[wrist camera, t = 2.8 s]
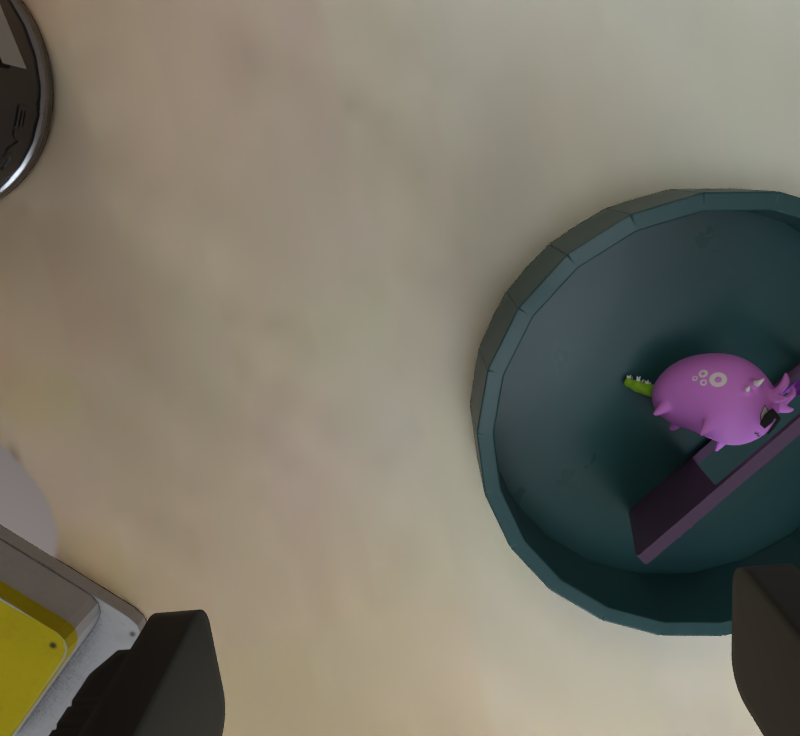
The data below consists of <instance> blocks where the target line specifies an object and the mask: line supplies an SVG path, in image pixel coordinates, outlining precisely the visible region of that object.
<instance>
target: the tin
mask: <svg viewBox="0 0 800 736" xmlns="http://www.w3.org/2000/svg"><path fill="white" fill-rule="evenodd" d="M706 353H724V354H731V355H735V356H739V357H741V358H744V359H746V360H748V361H750V362H751V363H753V364H754V365H755V366H757V367H758V368H759V369H760V370H761V371H762V372H763V373H764V374H765V375H766V376H767V378H768V379H769V380H770V382H771V383H772V385H773V384H774V383H775V382H776V381H777V380H778V379H779V378H781V377H782V376H783V375H784V373H786V372H787V371H789V370H790V369H791V368H792V367H793V366H794V365H795V364H797V363H798V362H799V361H800V198H799V197H796V196H792V195H789V194H785V193H782V192H776V191H764V190H746V189H670V190H665V191H661V192H658V193H655V194H651V195H648V196H644V197H641V198H637V199H634V200H630V201H626V202H623V203H621V204H618V205H615V206H612V207H608V208H606V209H604V210H602V211H600V212H599V213H597V214H595V215H594V216H592V217H590V218H589V219H587V220H585V221H583V222H582V223H580V224H578V225H577V226H575V227H573V228H571V229H570V230H569V231H567V232H566V233H565V234H563V235H562V236H561V237H559V238H558V239H556V240H555V241H553V242H551V243H550V245H548V246H547V247H546V248H545V249H544V250H543V251H542V252H541V253H540V254H539V255H538V256H537V257H536V258H535V259H534V260H533V261H532V262H531V263H530V264H529V265H528V266H527V267H526V268H525V270H524V271H523V272H522V274H521V275H520V276H519V277H518V279H517V280H516V281H515V282H514V284H513V285H512V286H511V287H510V288H509V289H508V290H507V292H506V293H505V295H504V297H503V299H502V301H501V303H500V305H499V307H498V308H497V310H496V312H495V313H494V315H493V318H492V320H491V322H490V325H489V327H488V329H487V331H486V334H485V336H484V338H483V340H482V342H481V344H480V348H479V352H478V358H477V362H476V367H475V374H474V381H473V387H472V394H471V400H470V408H471V416H472V423H473V430H474V438H475V445H476V452H477V459H478V464H479V468H480V473H481V478H482V483H483V488H484V492H485V496H486V498H487V500H488V502H489V504H490V506H491V508H492V510H493V513H494V515H495V517H496V519H497V521H498V523H499V525H500V527H501V529H502V531H503V533H504V536H505V538H506V540H507V542H508V544H509V546H510V547H511V549H512V550H513V551H514V552H515V553H516V554H517V555H518V556H519V557H520V558H521V559H522V560H523V561H524V562H525V564H526V565H527V566H528V567H529V568H530V569H531V570H532V571H533V572H534V573H535V574H536V575H537V576H538V577H539V579H540V580H541V581H542V582H543V583H544V584H545V585H546V586H547V587H548V588H549V589H551V591H553V592H555V593H556V594H558V595H560V596H562V597H563V598H565V599H567V600H568V601H570V602H572V603H573V604H575V605H577V606H579V607H580V608H582V609H584V610H585V611H587V612H589V613H591V614H592V615H594V616H596V617H597V618H599V619H602V620H603V621H607V622H611V623H614V624H618V625H622V626H626V627H630V628H633V629H637V630H641V631H645V632H649V633H652V634H656V635H669V636H722V635H729V634H732V583H733V575H734V572H735V570H736V569H737V568H739V567H749V566H761V565H774V564H786V563H790V564H793V565H795V566H796V567H797V568H798V569H799V570H800V437H798V438H795V439H794V440H793V441H792V442H790V443H789V444H788V445H787V446H786V447H784V449H783V451H782V452H781V453H780V454H779V455H778V456H776V457H775V458H774V459H773V460H772V461H771V462H769V463H768V464H767V465H766V466H765V467H764V468H762V469H759V470H757V471H756V472H755V473H754V474H753V475H752V476H750V477H749V478H748V479H747V480H746V481H744V482H743V483H742V484H741V485H740V486H739V487H737V488H736V489H735V490H734V491H733V492H732V493H730V494H729V495H728V496H727V497H726V498H725V499H723V500H722V501H721V502H720V503H719V504H717V505H716V506H715V507H714V508H713V509H712V510H710V511H709V512H708V513H707V514H706V515H705V516H703V517H702V518H701V519H700V520H699V521H697V522H696V523H695V524H694V525H693V526H692V527H691V528H689V529H688V530H687V531H686V532H685V533H683V534H682V535H681V537H679V538H677V539H676V540H675V541H674V542H673V543H672V544H670V545H669V546H668V547H667V548H666V549H665V550H663V551H662V552H661V553H660V554H659V555H658V556H656V557H655V558H654V559H653V560H652V561H650V562H649V563H648V564H644V563H643V562H642V561H641V560H640V559H639V557H638V556H637V555H636V551H635V546H634V540H633V534H632V529H631V523H630V518H629V511H630V509H631V508H633V507H634V506H635V505H636V504H637V503H638V502H639V501H640V500H642V499H643V498H644V497H645V496H646V495H647V494H648V493H650V492H651V491H652V490H653V489H654V488H655V487H656V486H658V485H659V484H660V483H661V482H662V481H663V480H664V479H666V478H667V477H668V476H669V475H670V474H671V473H672V472H674V471H675V470H676V469H677V468H678V467H679V466H680V465H681V464H683V463H684V462H685V461H686V460H687V459H688V458H689V457H691V456H692V455H693V454H694V453H695V452H696V451H697V450H699V449H700V448H701V447H702V446H703V445H704V444H705V443H707V442H708V441H709V440H710V438H708V437H705V436H701V435H700V434H698V433H695V432H693V431H690V430H687V429H685V428H682V427H680V428H678V429H676V430H673V431H671V430H670V429H669V427H670V425H671V423H670V422H669V421H667V420H665V419H664V418H663V417H661V416H660V415H658V416H655V415H654V414H653V412H654V411H655V408H654V406H653V403H652V397H649V396H645V395H643V394H641V393H638V392H635V391H633V390H631V389H630V388H628V387H626V386H625V385H624V381H625V379H626V378H627V375H628V376H630V375H631V378H632V376H633V380H636V379H637V377H638V378H639V377H640V376H641V378H640V381H642V380H643V379H644V380H645V381H647V380H649V383H650V382H651V384H655V382H656V381H657V379H658V378H659V376H660V375H661V374H662V373H663V372H664V371H665V370H666V369H667V368H668V367H669V366H671V365H672V364H674V363H676V362H677V361H679V360H682V359H684V358H687V357H690V356H694V355H699V354H706ZM797 379H800V376H799V377H798V378H797ZM797 379H796V380H797ZM645 381H643V383H645ZM793 382H794V381H793ZM793 382H792V383H793ZM792 383H791V384H792ZM791 384H790V385H791ZM790 385H789V386H790ZM789 386H788V387H789ZM788 387H787V388H788ZM787 394H788V393H785V394H784V395H783V396H786V395H787ZM787 406H788V407H791V408H793V409H794V410H793V411H792V412H789V413H778V415H779V416H780V418H781V420H780V421H779V423H778V424H777V426H776V427H775V428H774V429H773V430H772V431H771V433H770V434H769V435H768V434H767V433H765V434H764V435H763V436H761V437H760V438H758V439H756V440H754V441H752V442H749V443H746V444H742V445H725V446H723V447H722V448H721V449H720V450H718V451H715V450H714V451H713V452H712V453H711V454H710V455H709V456H707V457H706V458H705V459H704V460H703V461H702V462H701V463H699V464H698V466H699V467H700V468H701V469H702V470H703V472H704V473H705V474H706V475H707V476H708V477H709V479H710V480H711V481H712V482H713V483H714V485H716V484H718V483H719V482H720V481H721V480H722V479H724V478H725V477H726V476H727V475H728V474H729V473H731V472H732V471H733V470H734V469H735V468H736V467H738V466H739V465H740V464H741V463H742V462H743V461H745V460H746V459H747V458H748V457H749V456H750V455H752V454H753V453H754V452H755V451H756V450H757V449H759V448H760V447H761V446H762V445H763V444H764V443H766V442H767V441H768V440H769V439H770V438H771V437H773V436H774V435H775V434H776V433H777V432H778V431H780V430H781V429H782V428H783V427H784V426H785V425H787V424H788V423H789V422H790V421H791V420H792V419H794V418H795V417H796V416H797V415H798V414H799V413H800V396H798V395H796V396H795V397H794V398H793V399H792V400H791V401H790V402H789V403H788V404H787ZM775 422H776V421H775Z"/></svg>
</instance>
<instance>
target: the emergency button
mask: <svg viewBox="0 0 800 736" xmlns="http://www.w3.org/2000/svg"><path fill="white" fill-rule="evenodd" d="M145 624H146V621H145V618H144V616H143V615H142V614H141V613H140V612H139V611H138V610H137V609H135V608H134V607H133V606H131V605H129V604H128V603H126V602H125V601H123V600H121V599H120V598H118V597H116V596H115V595H113V594H112V593H110V592H108V591H107V590H105V589H104V588H102V587H100V586H99V585H97V584H95V583H94V582H92V581H91V580H89V579H87V578H86V577H84V576H83V575H81V574H79V573H78V572H76V571H74V570H73V569H71V568H70V567H68V566H66V565H65V564H63V563H62V562H60V561H58V560H57V559H55V558H53V557H52V556H50V555H48V554H47V553H45V552H44V551H42V550H40V549H39V548H37V547H36V546H34V545H32V544H31V543H29V542H28V541H26V540H24V539H23V538H21V537H19V536H18V535H16V534H15V533H13V532H11V531H10V530H8V529H7V528H5V527H3V526H2V525H0V736H49V734H50V733H51V731H52V730H56V727H57V722H58V721H59V719H60V718H61V716H62V715H63V713H64V712H65V710H66V709H67V707H69V706H71V705H72V700H73V698H74V697H75V695H76V694H77V692H78V691H79V689H80V688H81V686H82V685H83V683H84V681H85V680H86V678H87V677H88V675H89V674H90V673H91V672H92V671H94V670H95V669H96V668H97V667H98V666H100V665H101V664H102V663H103V662H104V661H106V660H107V659H108V658H109V657H110V656H111V655H113V654H114V653H115V652H116V651H117V650H125V649H131V647H132V645H133V644H134V642H135V640H136V639H137V637H138V636H139V634H140V632H141V631H142V629H143V627H144V626H145Z"/></svg>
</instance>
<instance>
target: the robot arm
mask: <svg viewBox="0 0 800 736" xmlns="http://www.w3.org/2000/svg"><path fill="white" fill-rule="evenodd" d="M52 110H53V85H52V76H51V69H50V64H49V60H48V56H47V52H46V49H45V46H44V43H43V40H42V38H41V35H40V33H39V31H38V28H37V26H36V24H35V22H34V20H33V19H32V17H31V15H30V13H29V11H28V10H27V8H26V7H25V5H24V4H23V2H22V0H0V199H1V198H2V197H4V196H5V195H7V194H8V193H9V192H11V191H12V190H13V189H14V188H15V187H17V186H18V185H19V184H20V182H21V181H22V180H23V179H24V178H25V177H26V176H27V175H28V173H29V172H30V171H31V169H32V168H33V166H34V165H35V163H36V161H37V160H38V158H39V156H40V154H41V152H42V149H43V147H44V145H45V142H46V139H47V136H48V132H49V128H50V124H51V117H52ZM732 666H733V672H734V677H735V681H736V685H737V688H738V691H739V693H740V696H741V698H742V700H743V702H744V704H745V706H746V707H747V709H748V711H749V712H750V714H751V716H752V717H753V719H754V721H755V722H756V724H757V725H758V727H759V729H760V730H761V732H762V734H763V735H764V736H800V570H799V569H798V568H797V567H796V566H795V565H793V564H790V563H786V564H774V565H761V566H749V567H739V568H737V569H736V570H735V572H734V575H733V583H732ZM224 720H225V698H224V691H223V686H222V681H221V676H220V672H219V667H218V662H217V657H216V652H215V647H214V642H213V637H212V632H211V627H210V623H209V619H208V616H207V614H206V613H205V612H204V611H203V610H189V611H177V612H164V613H155V614H153V615H152V616H150V618H149V619H148V621H147V622H146V624H145V626H144V627H143V629H142V631H141V632H140V634H139V636H138V637H137V639H136V640H135V642H134V644H133V645H132V647H131V649H125V650H117V651H116V652H115V653H114V654H113V655H111V656H110V657H109V658H108V659H107V660H106V661H104V662H103V663H102V664H101V665H100V666H98V667H97V668H96V669H95V670H94V671H92V672H91V673H90V674H89V675H88V677H87V678H86V680H85V681H84V683H83V685H82V686H81V688H80V689H79V691H78V692H77V694H76V695H75V697H74V698H73V700H72V705H71V706H69V707H67V709H66V710H65V712H64V713H63V715H62V716H61V718H60V719H59V721H58V722H57V727H56V730H52V731H51V733H50V734H49V736H222V733H223V728H224Z"/></svg>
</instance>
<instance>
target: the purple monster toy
mask: <svg viewBox="0 0 800 736" xmlns="http://www.w3.org/2000/svg"><path fill="white" fill-rule="evenodd" d="M799 376H800V361H799V362H798V363H797V364H795V365H794V366H793V367H792V368H791V369H790V370H789V371H787V372H786V373H784V375H783V376H782V377H781V378H779V379H778V380H777V381H776V382H775V383H774V384H773V385H772V383H771V382H770V380H769V379H768V378H767V376H766V375H765V374H764V373H763V372H762V371H761V370H760V369H759V368H758V367H757V366H755V365H754V364H753V363H751V362H750V361H748V360H746V359H744V358H741V357H739V356H735V355H731V354H724V353H706V354H699V355H694V356H690V357H687V358H684V359H682V360H679V361H677V362H676V363H674V364H672V365H671V366H669V367H668V368H667V369H666V370H665V371H664V372H663V373H662V374H661V375H660V376H659V378H658V379H657V381H656V382H655V384H651V382H650V383H649V380H647V381H645V380H644V379H643V380H642V381H640V378H641V376H640V377H639V378H638V377H637V379H636V380H633V376H632V378H631V375H630V376H628V375H627V378H626V379H625V381H624V385H625V386H626V387H628V388H630V389H631V390H633V391H635V392H638V393H641V394H643V395H645V396H649V397H652V403H653V406H654V408H655V411H654V412H653V414H654V415H655V416H658V415H660V416H661V417H663V418H664V419H665V420H667V421H669V422H670V423H671V425H670V427H669V429H670V430H671V431H673V430H676V429H678V428H680V427H682V428H685V429H687V430H690V431H693V432H695V433H698V434H700V435H701V436H705V437H708V438H710V440H709V441H708V442H707V443H705V444H704V445H703V446H702V447H701V448H700V449H699V450H697V451H696V452H695V453H694V454H693V455H692V456H691V457H689V458H688V459H687V460H686V461H685V462H684V463H683V464H681V465H680V466H679V467H678V468H677V469H676V470H675V471H674V472H672V473H671V474H670V475H669V476H668V477H667V478H666V479H664V480H663V481H662V482H661V483H660V484H659V485H658V486H656V487H655V488H654V489H653V490H652V491H651V492H650V493H648V494H647V495H646V496H645V497H644V498H643V499H642V500H640V501H639V502H638V503H637V504H636V505H635V506H634V507H633V508H631V509H630V511H629V518H630V523H631V529H632V534H633V540H634V546H635V551H636V555H637V556H638V557H639V559H640V560H641V561H642V562H643V563H644V564H648V563H649V562H650V561H652V560H653V559H654V558H655V557H656V556H658V555H659V554H660V553H661V552H662V551H663V550H665V549H666V548H667V547H668V546H669V545H670V544H672V543H673V542H674V541H675V540H676V539H677V538H679V537H681V535H682V534H683V533H685V532H686V531H687V530H688V529H689V528H691V527H692V526H693V525H694V524H695V523H696V522H697V521H699V520H700V519H701V518H702V517H703V516H705V515H706V514H707V513H708V512H709V511H710V510H712V509H713V508H714V507H715V506H716V505H717V504H719V503H720V502H721V501H722V500H723V499H725V498H726V497H727V496H728V495H729V494H730V493H732V492H733V491H734V490H735V489H736V488H737V487H739V486H740V485H741V484H742V483H743V482H744V481H746V480H747V479H748V478H749V477H750V476H752V475H753V474H754V473H755V472H756V471H757V470H759V469H762V468H764V467H765V466H766V465H767V464H768V463H769V462H771V461H772V460H773V459H774V458H775V457H776V456H778V455H779V454H780V453H781V452H782V451H783V449H784V447H786V446H787V445H788V444H789V443H790V442H792V441H793V440H794V439H795V438H798V437H800V413H799V414H798V415H797V416H796V417H795V418H794V419H792V420H791V421H790V422H789V423H788V424H787V425H785V426H784V427H783V428H782V429H781V430H780V431H778V432H777V433H776V434H775V435H774V436H773V437H771V438H770V439H769V440H768V441H767V442H766V443H764V444H763V445H762V446H761V447H760V448H759V449H757V450H756V451H755V452H754V453H753V454H752V455H750V456H749V457H748V458H747V459H746V460H745V461H743V462H742V463H741V464H740V465H739V466H738V467H736V468H735V469H734V470H733V471H732V472H731V473H729V474H728V475H727V476H726V477H725V478H724V479H722V480H721V481H720V482H719V483H718V484H716V485H714V483H713V482H712V481H711V480H710V479H709V477H708V476H707V475H706V474H705V473H704V472H703V470H702V469H701V468H700V467H699V466H698V464H699V463H701V462H702V461H703V460H704V459H705V458H706V457H707V456H709V455H710V454H711V453H712V452H713V451H714V450H715V451H718V450H720V449H721V448H722V447H723V446H725V445H742V444H746V443H749V442H752V441H754V440H756V439H758V438H760V437H761V436H763V435H764V434H765V433H767V434H768V435H769V434H770V433H771V431H772V430H773V429H774V428H775V427H776V426H777V424H778V423H779V421H780V420H781V418H780V416H779V415H778V413H789V412H792V411H793V410H794V409H793V408H791V407H788V406H787V404H788V403H789V402H790V401H791V400H792V399H793V398H794V397H795V396H796V395H798V396H800V379H797V378H798V377H799ZM796 379H797V380H796ZM643 381H645V383H643ZM793 381H794V382H793ZM792 382H793V383H792ZM791 383H792V384H791ZM790 384H791V385H790ZM789 385H790V386H789ZM788 386H789V387H788ZM787 387H788V388H787ZM785 393H788V394H787V395H786V396H783V395H784V394H785ZM775 421H776V422H775Z"/></svg>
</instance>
